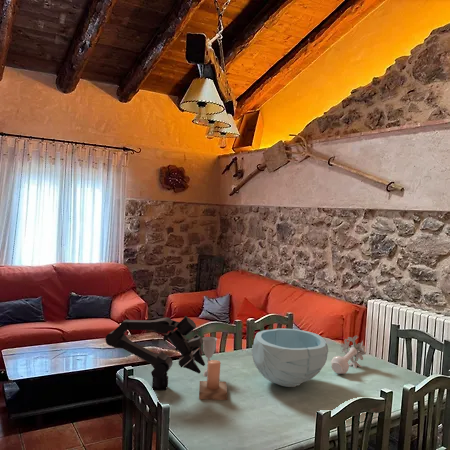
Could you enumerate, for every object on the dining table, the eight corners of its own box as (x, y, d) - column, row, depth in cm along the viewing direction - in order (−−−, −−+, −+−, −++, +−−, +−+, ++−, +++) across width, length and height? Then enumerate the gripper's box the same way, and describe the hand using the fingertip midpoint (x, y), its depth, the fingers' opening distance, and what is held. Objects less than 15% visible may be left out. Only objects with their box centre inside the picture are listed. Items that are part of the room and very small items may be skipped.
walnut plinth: (199, 399, 185) (199, 392, 185) (199, 387, 197) (199, 381, 197) (226, 399, 186) (227, 392, 186) (225, 388, 198) (225, 381, 198)
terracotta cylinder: (209, 389, 188) (210, 365, 187) (204, 384, 193) (206, 360, 192) (220, 388, 190) (222, 363, 189) (216, 383, 195) (217, 359, 194)
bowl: (300, 367, 229) (302, 326, 228) (340, 395, 196) (343, 347, 195) (239, 373, 216) (241, 330, 215) (271, 404, 183) (274, 353, 183)
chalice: (202, 378, 208) (203, 341, 207) (199, 372, 215) (200, 336, 214) (216, 377, 210) (218, 340, 209) (213, 371, 217) (215, 336, 216)
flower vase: (345, 389, 219) (367, 365, 236) (349, 359, 212) (371, 337, 230) (322, 377, 227) (345, 355, 245) (326, 348, 221) (348, 327, 238)
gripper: (187, 336, 183) (211, 365, 181) (197, 325, 201) (219, 351, 200) (168, 352, 184) (192, 381, 183) (180, 340, 203) (201, 365, 201)
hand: (202, 369), depth 192 cm, fingers open, 9 cm apart
